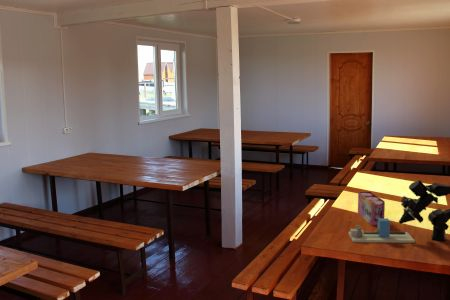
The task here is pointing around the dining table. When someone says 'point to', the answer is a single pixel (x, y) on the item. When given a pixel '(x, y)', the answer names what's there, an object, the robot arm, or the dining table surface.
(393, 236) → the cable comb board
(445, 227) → the robot arm
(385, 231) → the blue block
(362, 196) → the gum box
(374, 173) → the dining table surface
